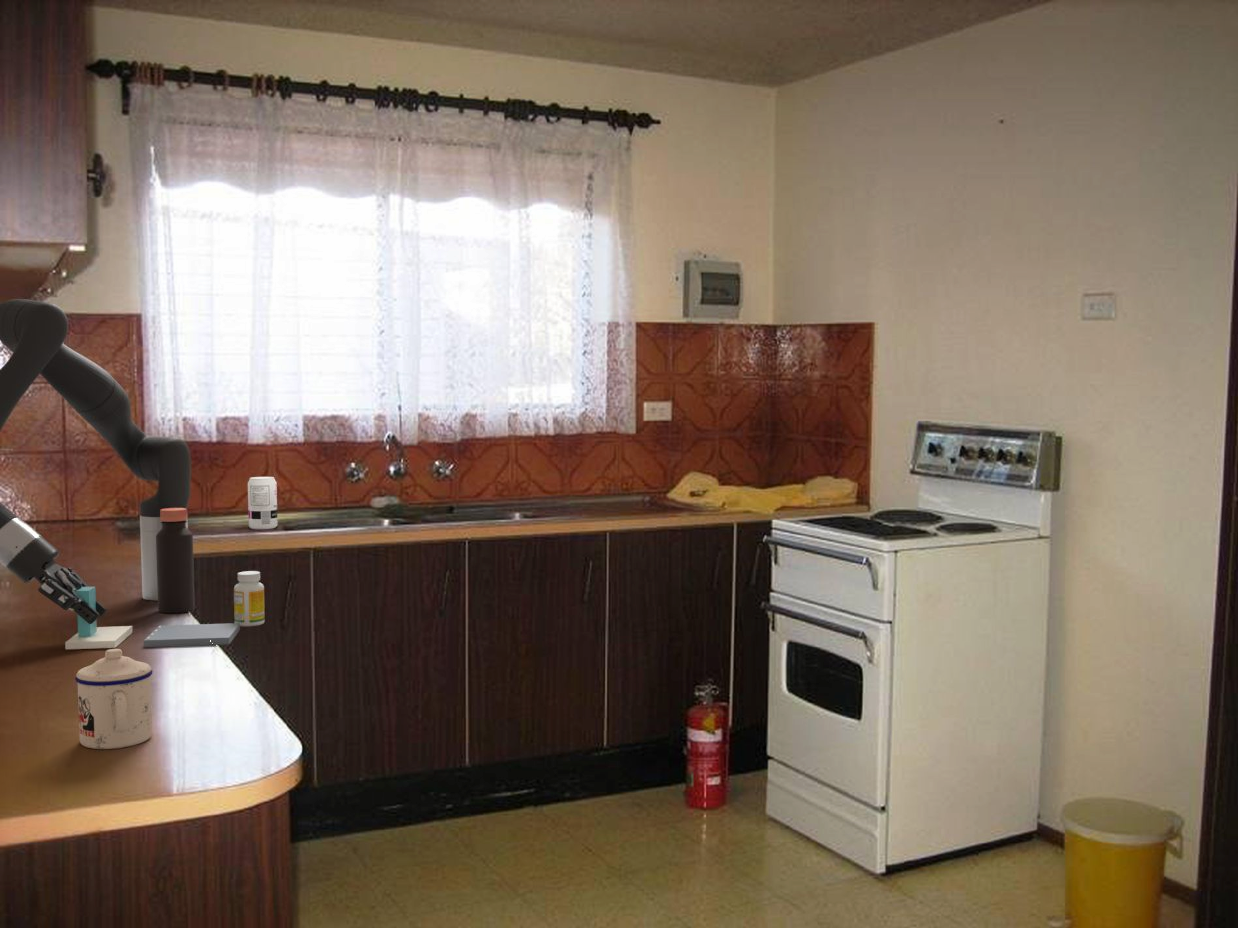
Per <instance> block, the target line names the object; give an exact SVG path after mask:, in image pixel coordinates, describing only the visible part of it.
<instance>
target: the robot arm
mask: <svg viewBox="0 0 1238 928" xmlns="http://www.w3.org/2000/svg"><path fill="white" fill-rule="evenodd" d="M68 331H69V321H68V317H67V315H66V313H65V312H64V310H63V309H62V308H61V307H60V306H58V305H56V304H54V303H51V302H48V301H41V300H35V299H25V298H14V299H8V300H5V301H3V302H1V303H0V343H2V344H3V345H4V346H5V347H6V348H7V349H9V350H10V351H11V352H12V354H11V356H10V358H9V359H8V360H7V362H6V363H4V365H3V366H2V367H1V368H0V433H1V431H2V429H3V428H4V426H5V423H6V422H7V421H8V419H9V417H10V415H11V414H12V412H13V411H14V409H15V407H16V406H17V405H18V403H19V402H20V400H21V399H22V397H23V396H24V395H25V393H26V392H27V391H28V389H29V388H30V387H31V386H32V385H33V383H34V382H35V381H36V379H37V378H38V377H39V376H41V377H42V378H43V379H44V380H45V381H46V382H47V383H48V384H49V385H50V386H51V387H52V388H53V389H54V390H55V391H56V392H57V393H58V394H59V395H60V396H61V397H62V398H63V399H64V400H65V401H66V402H67V403H68V404H69V406H71V408H73V410H75V411H76V412H77V414H78V415H80V417H81V418H82V419H83V420H84V421H86V422H87V423H88V424H89V425H90V426H91V427H92V428H93V429H94V431H96V432H97V433H98V434H99V435H100V436H101V437H102V439H104V440H105V441H106V442H107V443H108V444H109V446H111V448H112V449H113V450H114V451H115V453H116V454H117V455H118V456H119V458H120V459H121V461H123V463H124V465H125V466H126V467H127V468H128V469H129V471H130V472H131V474H133V475H134V476H135V477H137V478H138V479H140V480H143V481H147V482H158V484H157V491H156V493H155V494H154V495H152V496H151V497H149V498H146V499H144V500H142V501H140V503H139V529H140V532H139V533H140V556H141V557H140V561H141V564H140V565H141V591H142V599H143V600H145V601H146V600H147V601H158V588H157V557H156V535H157V534H158V532H159V531H160V530H161V529H162V523H161V522H162V521H161V520H160V510H161V509H166V508H186V509H187V510H188V505H189V502H190V500H191V499H190V498H191V485H192V484H191V483H192V481H191V480H192V476H191V475H192V459H191V458H192V457H191V456H192V455H191V451H190V448H189V446H188V444H187V442H186V441H185V440H184V439H183V438H180V437H174V436H151V435H148V434H146V433H145V432H144V431H143V430H142V429H140V427H139V426H137V424H136V423H135V422H134V421H133V419H132V410H131V409H132V408H131V407H132V406H131V401H130V397H129V395H128V394H127V392H126V391H125V389H124V388H123V387H122V386H121V384H119V382H117V380H116V379H115V378H113V376H112V375H111V374H110V373H109V372H108V371H107V370H106V369H104V368H103V367H101V366H100V365H98V364H96V363H95V362H94V361H92V360H90V359H89V358H87V357H86V356H85V355H82V354H80V353H78V352H77V351H75V350H73V349H72V348H70V347H68V346H67V345H66V344H64V342H65V340H66V337H67V335H68V333H69V332H68ZM186 521H187V522H186V528H187V529H188V530H189V523H188V522H189V520H188V515H187V520H186ZM59 554H60V551H59V550H58V549H57V548H56V547H55V546H53V545H52V544H51V543H50V542H49V541H48V540H46V539H45V537H44V536H42V535H41V534H40V533H38V531H36V530H35V529H34V528H33V527H32V526H31V525H29V524H28V523H27V522H25V521H23V520H22V519H21V518H20V517H18V516H17V515H16V514H15V513H13V512H12V511H11V510H10V509H9V508H7V506H6V505H5V504H4V503H2V502H0V563H1V564H2V565H3V566H4V567H5V568H6V569H8V570H9V571H10V572H11V573H13V574H14V575H15V576H16V577H17V578H18V579H19V580H20V581H21V582H22V583H24V584H29V583H31V582H32V581H34V580H35V579H36V581H37V582H38V583H39V584H40V586H39V587H38V589H37V591H38V593H40V594H42V595H43V596H45V597H46V598H47V599H49V600H50V601H51V602H53V603H54V604H56V605H57V606H59V607H60V608H62V610H64V611H68V610H69V611H72V612H73V611H74V612H75V613H76V614H78V615H79V616H81V617H82V618H83V619H84V620H85V621H86V622H87V623H89V624H92V623H94V622H95V621H96V622H97V620H98V619H100V618H101V617H102V616H103V615H105V613H106V612H107V608H106V607H105V606H104V605H103V604H102V603H100V601H98V600H97V599H96V610H94V609H93V608H92V607H91V606H90V605H89V604H87V603H86V602H85V601H83V599H82V598H81V597H80V596H79V595H78V594H77V590H79V589H81V588H82V587H90V586H89V585H88V584H87V583H86V582H85V580H84V579H83V578H82V577H81V576H80V575H79V574H78V573H77V572H76V570H75V569H74V568H72V567H70V566H69V567H68V568H66V567H65V566H61V565H59V564H58V563H56V562H55V560H56V559H57V558H58V557H59ZM82 601H83V602H82ZM78 615H77V616H78Z"/></svg>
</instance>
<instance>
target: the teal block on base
mask: <svg viewBox="0 0 1238 928" xmlns="http://www.w3.org/2000/svg"><path fill="white" fill-rule="evenodd" d="M77 594H78V595H79V596H80V597H81V598H82V599H83V601H85V602H86V603H87V604H89V605H90V606H91V607H92V608H93V609H94V610H96V600H97V599H96V586H89V587H82V588H81V589H79V590H77ZM83 601H82V602H83ZM76 614H77V613H76ZM97 624H98V623H97V620H96V621H95V622H94V623H92V624H89V623H87V622H86V621H85V620H84V619H83V618H82V617H81V616H79V615H78V614H77V633H76V634H74V635H73V636H72V637H70V638H69V639H68V640H66V641H65V642H64V644H65V650H83V649H84V650H85V649H86V650H87V649H89V650H90V649H117V647H118V646H119V645H120V644H122V643H123V641H125V640H126V639H127V638H128V637H129V636H130V635H132V634H133V625H121V626H120V625H119V626H116V625H115V626H97Z"/></svg>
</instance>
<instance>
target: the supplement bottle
mask: <svg viewBox="0 0 1238 928" xmlns="http://www.w3.org/2000/svg"><path fill="white" fill-rule="evenodd" d="M237 581H238V583H236V584H235V585H234V588H233V606H234V607H233V608H234V609H233V611H234V615H233V616H234V618H233V619H234V623H240V627H254V626H255V627H256V626H260V625H261V626H262V625H263V624H264V623H265V586H264V583H261V582H259V581H261V572H260V571H258V570H248V571H246V570H244V571H241V572H239V571H238V572H237Z"/></svg>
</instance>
